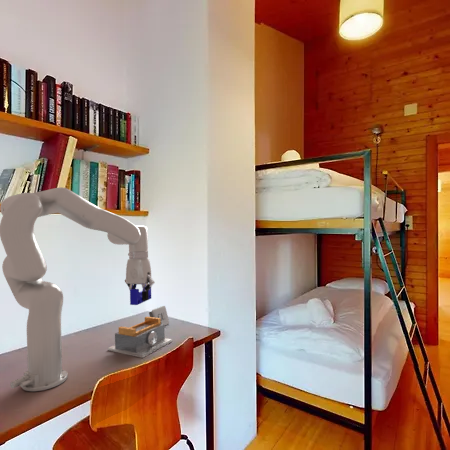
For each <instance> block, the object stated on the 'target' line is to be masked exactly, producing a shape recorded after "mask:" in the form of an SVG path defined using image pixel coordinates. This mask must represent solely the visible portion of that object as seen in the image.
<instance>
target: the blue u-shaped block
mask: <svg viewBox="0 0 450 450" xmlns="http://www.w3.org/2000/svg"><path fill="white" fill-rule="evenodd" d="M145 287H146V285H145ZM142 291H143V289H142V290H141V291H140V289H139V288H136V289H130V290H129V300H130V301H129V302H130V303H129V305H130V306H138V305H141V304H143V303H145V302H147V301H149V300H151V299H152V287H151V288H150V290H148V293H149V299H148V300H146V301H142Z"/></svg>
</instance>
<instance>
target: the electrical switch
mask: <svg viewBox="0 0 450 450" xmlns="http://www.w3.org/2000/svg"><path fill="white" fill-rule="evenodd" d="M148 314H149V317H155V318H161V324H164V327H165V326H167V325H169V324H170V321H169V315H168V311H167V307H166V305H162V306H160V307H157V308H154V309H152V310H151V311H149V312H148Z"/></svg>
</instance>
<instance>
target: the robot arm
mask: <svg viewBox="0 0 450 450" xmlns="http://www.w3.org/2000/svg"><path fill="white" fill-rule="evenodd" d="M0 213H1V215H2V217H1V220H0V240H1V244H2V247H3V249H4V252H5V254H6V256H5V258H4V260H3V261H2V274H3V275H4V278H5V280H6V283H7V285H8V287H9V289H10V291H11V293H12V296H13V297H14V299H15V301H16V302H17V304H18V305H19V306H21V307H22V308H24V309H27V310H28V315H27V320H26V351H27V352H26V357H27V358H26V359H27V363H26V364H27V370H26V371H24V372H23V375H22V376H21V377H20V378H19V379H15V380H13V381H11V382H10V388H11V389H15V388H17V387H20V388H22V390H23V391H26V392H40V391H46V390H50V389H52V388H55V387H58V386H59V385H61V384H63V383H64V382H66V380H67V379H68V371H66V370H65V369H63V354H62V353H63V352H62V351H63V349H62V311H63V304H64V293H63V290H62V289H61V288H60V287H59V286H58V285H57V284H55V283H53V282H50V281H45V280H43V277H45V275H46V273H47V270H48V266H47V262H46V261H47V260H46V259H45V257H44V255H43V252H42V251H41V248H40V246H39V244H38V241H37V238H36V236H35V235H36V234H35V232H34V231H35V230H34V229H35V228H34V226H35V223H36V221H37V219H38V218H41V217H45V216H48V215H49V216H50V215H54V214H59V215H62V216H63V217H66V218H68V219H69V220H71V221H73V222H75V223H76V224H79V225H80V226H82V227H84V228H86V229H89V230H93V231H97V232H98V231H101V232H104V233H107V234H106V235H107V240H109V242H110V243H112V244H114V245H121V246H122V245H125V246H126V245H128V254H127V255H128V259H127V262H126V268H125V279H124V283H125V284H126V285H127V286H128V289H129V291H130V289H137V285H141V288H142V290H143V291H142V290H141V291H142V301H145V302H147V301H149V300H150V299H149V293H148V290H150V288H151V289H152V287H153V285H154V284H155V280H154V279H153V277H152V270H151V269H152V268H151V263H150V262H151V261H150V259H149V244H148V243H149V242H148V241H149V238H148V237H149V236H148V227H147V226H145V225H136V224H134V223H133V222H131V221H129V220H128V219H126V218H125V217H123V216H121V215H118V214H116V213H113V212H110V211H108V210H106V209H103V208H101V207H99V206H97V205H95V204H94V203H92V202H90V201H88V200H87V199H86V198H84V197H82V196H80V194H77V192H74V191H72V190H71V189H69V188H67V187H60V186H59V187H56V188H55V187H54V188H50V189H47V190H46V189H45V190H42V191H36V192H21V193H19V194H18V193H17V194H14V195H10V196H8V197H6V198H4V200H3V201H2V202H1V204H0ZM145 285H146V287H145ZM148 299H149V300H148ZM146 300H147V301H146Z"/></svg>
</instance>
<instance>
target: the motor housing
mask: <svg viewBox="0 0 450 450" xmlns="http://www.w3.org/2000/svg"><path fill="white" fill-rule="evenodd" d="M117 330H118V332H115V333H114V345H111V346H109V347H107V351H109V352H114V353H119V354H123V355H126V356H127V355H128V356H132V357H137V358H141V359H143V358H145V357H147V356H149V355H150V354H152V353H154V352H156V351H157V350H160V349H161V348H163V347H165V346H166V345H169V344H170V343H172V342H173V339H172V338H168V337H167V338H166V337H165V326H164V324H161V318H155V317H150V316H145V317H144V321H142V322H140V323H136V324H135V325H132V326H128V327H127V326H118V329H117Z"/></svg>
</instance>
